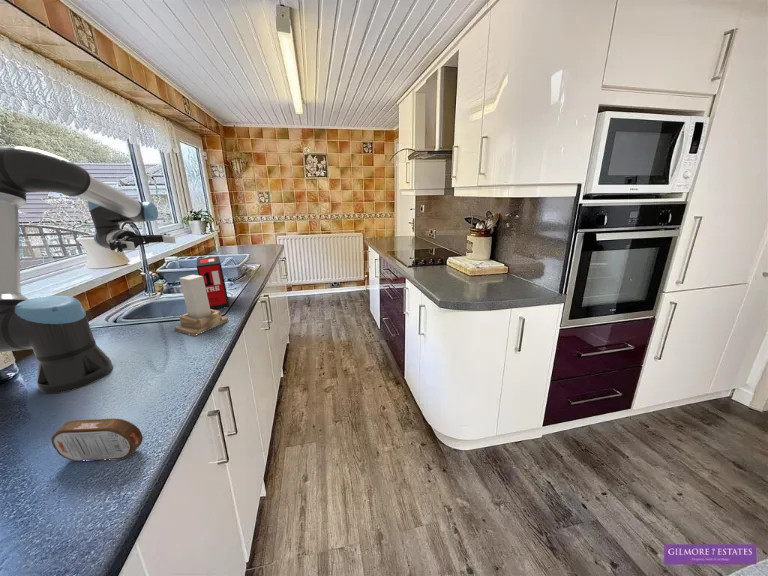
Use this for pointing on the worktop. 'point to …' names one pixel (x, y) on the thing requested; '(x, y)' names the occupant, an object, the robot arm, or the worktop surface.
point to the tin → (97, 439)
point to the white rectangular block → (195, 296)
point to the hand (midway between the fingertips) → (154, 242)
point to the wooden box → (200, 323)
